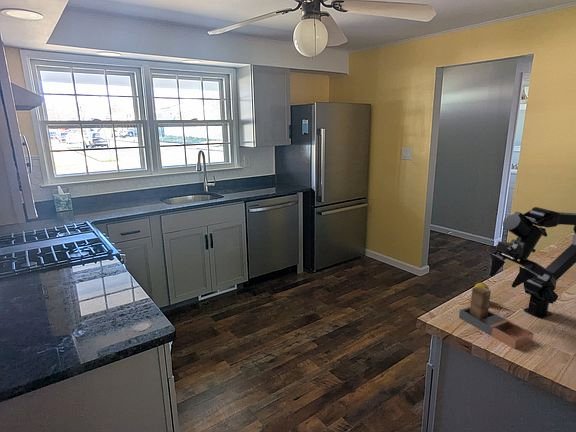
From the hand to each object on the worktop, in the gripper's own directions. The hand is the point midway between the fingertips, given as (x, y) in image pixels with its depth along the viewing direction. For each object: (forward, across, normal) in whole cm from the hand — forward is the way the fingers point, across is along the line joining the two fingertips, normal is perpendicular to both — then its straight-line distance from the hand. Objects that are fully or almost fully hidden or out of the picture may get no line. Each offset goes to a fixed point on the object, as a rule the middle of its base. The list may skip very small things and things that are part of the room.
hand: (501, 281), depth 123 cm
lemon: (+10, -13, +12) cm, 20 cm away
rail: (+15, +4, +3) cm, 16 cm away
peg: (+16, -2, +2) cm, 16 cm away
